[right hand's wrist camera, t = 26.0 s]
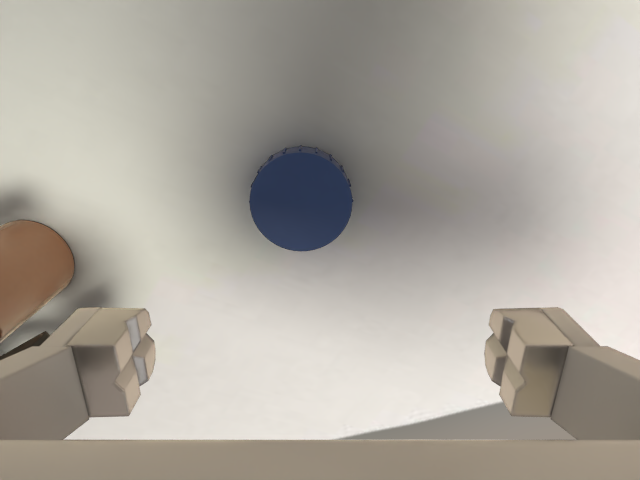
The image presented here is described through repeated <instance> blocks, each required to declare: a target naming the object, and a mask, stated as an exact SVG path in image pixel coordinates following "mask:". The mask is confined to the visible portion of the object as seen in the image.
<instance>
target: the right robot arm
mask: <svg viewBox="0 0 640 480" xmlns="http://www.w3.org/2000/svg"><path fill="white" fill-rule="evenodd" d="M150 326H151V321H150V316H149V312H148V311H147V310H146V309H145V308H101V307H93V308H78V309H77V310H76V311H75V312H74V313H73V314H72V315H71V316H70V317H69V318H68V319H67V320H66V321H65V322H64V323H63V324H62V325H61V326H60V327H59V328H58V329H57V330H56V331H55V332H54V333H53V334H52V335H50V336H49V337H48V338H47V339H46V340H45V341H44V342H43V343H42V344H41V345H40V346H32V347H30V348H28V349H25V350H23V351H21V352H18V353H16V354H14V355H12V356H9V357H7V358H5V359H2V360H0V480H640V360H638V359H635V358H633V357H631V356H628V355H626V354H624V353H622V352H619V351H617V350H615V349H612V348H610V347H608V346H600V345H599V344H598V343H597V342H596V341H595V340H594V339H593V338H592V337H591V336H590V335H589V334H588V333H587V332H586V331H585V330H584V329H583V328H582V327H581V326H580V325H578V324H577V323H576V322H575V321H574V320H573V319H572V318H571V317H570V316H569V315H568V314H567V313H566V312H565V311H564V310H563V309H561V308H558V307H550V308H513V309H493V311H492V313H491V315H490V320H489V326H490V328H491V329H492V331H493V334H492V335H491V336H490V337H489V338H488V339H487V340H486V344H485V352H484V355H485V365H486V369H487V372H488V374H489V376H490V378H491V380H492V381H493V382H494V383H496V384H498V385H499V386H501V388H500V393H499V395H500V397H501V399H502V400H503V402H504V404H505V406H506V408H507V409H508V411H509V413H510V415H511V416H523V417H551V420H553V421H554V422H555V423H556V424H558V425H559V426H560V427H562V428H563V429H564V430H565V431H567V432H568V433H569V434H571V435H572V436H573V437H575V438H576V439H577V440H63V439H64V438H66V437H67V436H68V435H70V434H71V433H72V432H73V431H75V430H76V429H77V428H79V427H80V426H81V425H82V424H84V423H85V422H86V421H88V420H89V417H116V416H129V415H130V413H131V411H132V409H133V408H134V406H135V404H136V402H137V400H138V399H139V397H140V395H141V393H140V388H139V386H141V385H142V384H144V383H146V382H147V381H148V380H149V378H150V376H151V374H152V372H153V368H154V364H155V344H154V340H153V339H152V338H151V337H150V336H149V335H148V334H147V331H148V329H149V328H150Z"/></svg>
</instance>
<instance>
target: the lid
mask: <svg viewBox="0 0 640 480" xmlns="http://www.w3.org/2000/svg"><path fill="white" fill-rule="evenodd" d="M257 173H258V175H257V176H256V178H255V180H254V182H253V183H252V185H251V193H250V201H249V203H250V210H251V214H252V217H253V220H254V222H255V224H256V226H257V227H258V229H259V230H260V232H261V233H262V234H263V235H264V236H265V237H266V238H267V239H269V240H270V241H271V242H273V243H274V244H276V245H278V246H280V247H282V248H285V249H288V250H293V251H310V250H315V249H318V248H321V247H323V246H325V245H327V244H329V243H330V242H332V241H333V240H334V239H336V238H337V237H338V236H339V235H340V234H341V232H342V231H343V230H344V228H345V227H346V225H347V223H348V221H349V218H350V216H351V210H352V202H353V198H352V195H351V190H350V186H351V184H350V181H349V179H347V177H346V175H345V172H344V170H343V166H342V165H341V166H340V165H339V164H338V162H337V161H336V160H335V159H333V158H332V155H331V154H330V155H328V154H327V153H325V152H323V151H321V150H318V148H311V147H302V145H300V147H292V148H288V149H286V148H284V150H282V151H280V152H278V153H277V154H275V155H274V156H273V155H271V156H270V158H269V160H268V161H267V162H266V163H265V164H264V165H263V167H262V166H261V167H260V169H259V170H258V172H257Z"/></svg>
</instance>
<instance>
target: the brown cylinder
mask: <svg viewBox="0 0 640 480" xmlns="http://www.w3.org/2000/svg"><path fill="white" fill-rule="evenodd" d="M73 273H74V259H73V255H72V253H71V250H70V248H69V247H68V245H67V243H66V242H65V241H64V240H63V239H62V237H61V236H60V235H58V234H57V233H56V232H55V231H53V230H52V229H50V228H49V227H47V226H45V225H43V224H40V223H37V222H33V221H27V220H18V221H12V222H9V223H6V224H4V225H2V226H0V343H1V342H2V341H3V340H5V339H6V338H7V337H8V336H9V335H10V334H12V333H13V332H14V331H15V330H16V329H17V328H19V327H20V326H21V325H22V324H23V323H25V322H26V321H27V320H28V319H29V318H30V317H32V316H33V315H34V314H35V313H36V312H37V311H39V310H40V309H41V308H42V307H43V306H44V305H46V304H47V303H48V302H49V301H50V300H51V299H53V298H54V297H55V296H56V295H57V294H59V293H60V292H61V291H62V290H63V289H64V288H65V287H66V286H67V285H68V284H69V283H70V281H71V279H72V277H73Z"/></svg>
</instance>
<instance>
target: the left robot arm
mask: <svg viewBox="0 0 640 480" xmlns="http://www.w3.org/2000/svg"><path fill="white" fill-rule="evenodd" d="M49 336H50V335H49V334H48V333H47V332H46V331H45V332H43V333H41V334H39V335H38V336H36V337H34V338H32V339H30V340H29V341H27V342H25V343H23V344H22V345H20V346H18V347H16V348H15V349H13V350H11V351H9V352H7V353H6V354H4V355H2V356H0V360H2V359H5V358H7V357H9V356H12V355H14V354H16V353H18V352H21V351H23V350H25V349H28V348H30V347H32V346H40V345H41V344H42V343H43V342H44V341H45V340H46V339H47V338H48V337H49Z"/></svg>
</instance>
